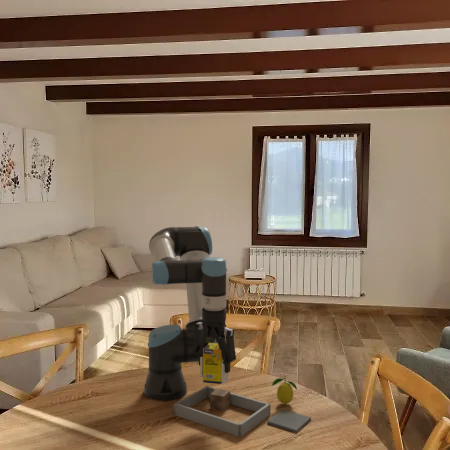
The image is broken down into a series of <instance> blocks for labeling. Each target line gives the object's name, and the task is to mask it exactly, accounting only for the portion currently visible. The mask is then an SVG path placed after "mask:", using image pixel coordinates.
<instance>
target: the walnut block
mask: <svg viewBox="0 0 450 450" xmlns="http://www.w3.org/2000/svg"><path fill="white" fill-rule="evenodd" d="M215 388H216V387H215ZM230 393H231V391H230V390H227V389H221V388H216V389H215V390H214V391H213V392H212V393H210V398H209V409H210V410H211V409H212V410H216V411H217V410H218V411H220V412H221V411H223V412H224V411H226V409H228V408H229V407H230V406H231V404H230Z"/></svg>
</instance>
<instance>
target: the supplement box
mask: <svg viewBox="0 0 450 450" xmlns="http://www.w3.org/2000/svg"><path fill="white" fill-rule="evenodd" d="M222 362H224V361H223V358H222V350H220V348H219V345H218V343H208V344H207V345H206V346H205V347H204V348H203V377H202V383H203V384H206V383H207V384H217V385H221V384H222V383H221V363H222Z"/></svg>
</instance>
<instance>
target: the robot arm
mask: <svg viewBox="0 0 450 450" xmlns="http://www.w3.org/2000/svg"><path fill="white" fill-rule="evenodd" d="M212 240H213V239H212V236H211V233H210V230H209V229H208V228H207V227H205V226H196V225H195V226H170V227H166V228H163V229H160V230H158V231H157V232H155V233H154V234H153V235H152V236H151V238H150V240H149V243H148V250H149V252H150V254H151V255H152V256H153V258H154V261H153V262H152V263H151V281H152V284H154V285H161V286H165V285H166V286H167V285H179V284H180V285H182V284H183V285H185V289H186V296H187V297H186V298H187V309H188V312H187V313H188V321H187V323H186V324H185V329H182V327H181V325H179V324H164V325H161V326H158V327H155V328H153V329H151V331H150V332H149V333H148V342H147V347H148V372H147V373H148V374H147V376H146V380H145V384H144V386H143V394H144V396H145V397H146V398H148V399H150V400H154V401H172V400H177V399H179V398H181V397H183V396H185V395H186V393H187V391H188V390H187V382H186V381H185V378H184V374H183V371H182V364H183V363H184V364H186V363H195V362H198V366H199V367H200V368H199V377H200V378H203V348H204V347H205V346H206V345H207V344H208V343H218V345H219V348H220V350H222V358H223V361H224V362H222V363H221V384H223V385H224V384H226V383H228V382H229V373H230V372H231V363H232V362H235V361H237V355H236V347H235V338H234V335H235V329H234V328H228V327H227V325H226V321H227V309H226V307H227V272H228V271H227V270H228V269H227V261H226V259H225V258H224V257H219V256H218V257H217V256H212V257H211V255H212V254H213V241H212ZM177 257H179V260H178V258H177Z"/></svg>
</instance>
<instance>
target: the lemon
mask: <svg viewBox="0 0 450 450" xmlns="http://www.w3.org/2000/svg"><path fill="white" fill-rule="evenodd" d="M286 378H287V376H286V375H285V376H284V378H280V377H279V378H276V379H275V380H273V382H272V384H271V386H275V385H277V384H279V383H280V382H282V381H283V380H286V381H284V382H282V383H280V384H279V386H278V387H277V390H276V398H277V400H278V402H280V404H283V405H284V406H286V405H287V404H290V403H291V402H292V401H293V399H294V389H296V390H298V387H297V385H296V384H295V383H294V382H293V381H288V380H287V379H286ZM293 388H294V389H293Z"/></svg>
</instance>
